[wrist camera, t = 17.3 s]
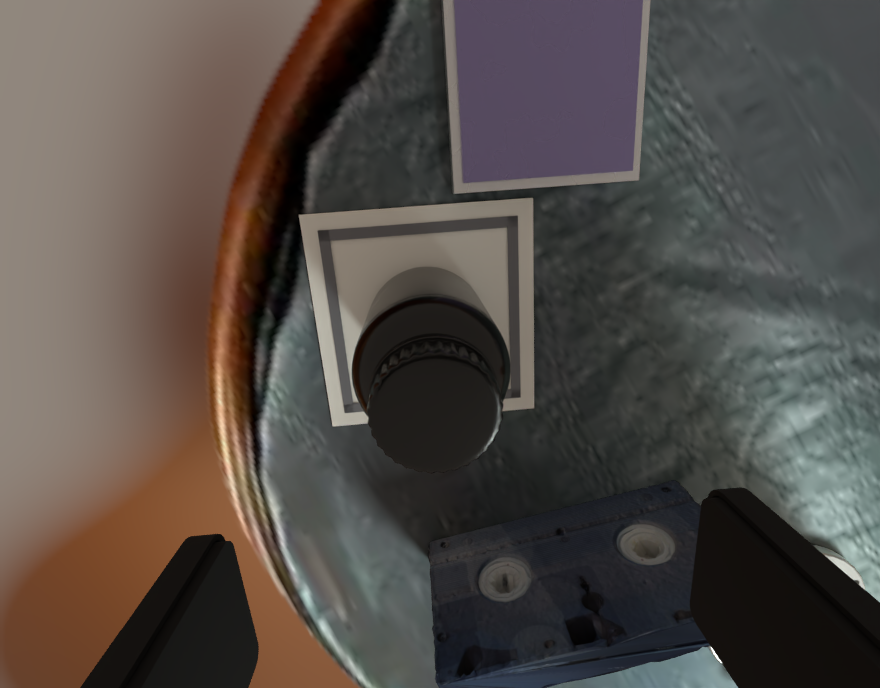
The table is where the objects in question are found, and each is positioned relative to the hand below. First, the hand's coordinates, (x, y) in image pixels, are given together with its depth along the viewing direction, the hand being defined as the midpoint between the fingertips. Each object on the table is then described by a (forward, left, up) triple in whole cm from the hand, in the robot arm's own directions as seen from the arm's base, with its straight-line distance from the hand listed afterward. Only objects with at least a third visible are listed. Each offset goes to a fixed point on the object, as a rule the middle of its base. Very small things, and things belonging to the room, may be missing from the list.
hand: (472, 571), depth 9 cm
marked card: (0, 0, -19) cm, 19 cm away
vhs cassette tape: (-16, -8, -19) cm, 26 cm away
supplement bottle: (0, 0, -19) cm, 19 cm away
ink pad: (+12, -7, -19) cm, 24 cm away
